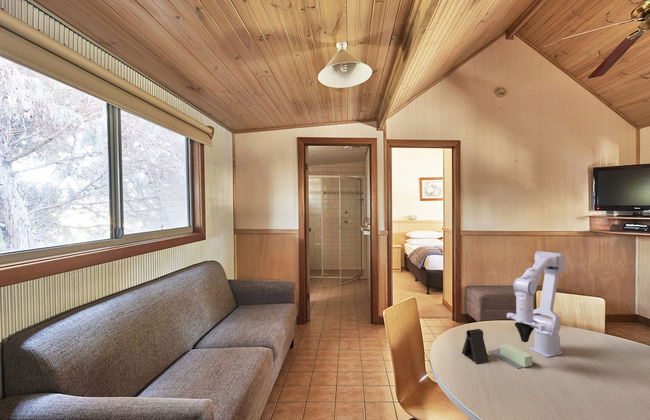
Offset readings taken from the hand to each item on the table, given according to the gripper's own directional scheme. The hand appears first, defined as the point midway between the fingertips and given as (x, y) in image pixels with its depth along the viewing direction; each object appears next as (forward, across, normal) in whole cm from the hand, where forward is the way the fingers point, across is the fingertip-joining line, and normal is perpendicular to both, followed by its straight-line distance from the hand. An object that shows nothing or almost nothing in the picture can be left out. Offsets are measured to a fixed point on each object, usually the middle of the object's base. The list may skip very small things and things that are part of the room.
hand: (524, 341), depth 118 cm
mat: (+10, -6, 0) cm, 12 cm away
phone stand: (+10, -12, -14) cm, 21 cm away
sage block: (+8, +2, 0) cm, 8 cm away
